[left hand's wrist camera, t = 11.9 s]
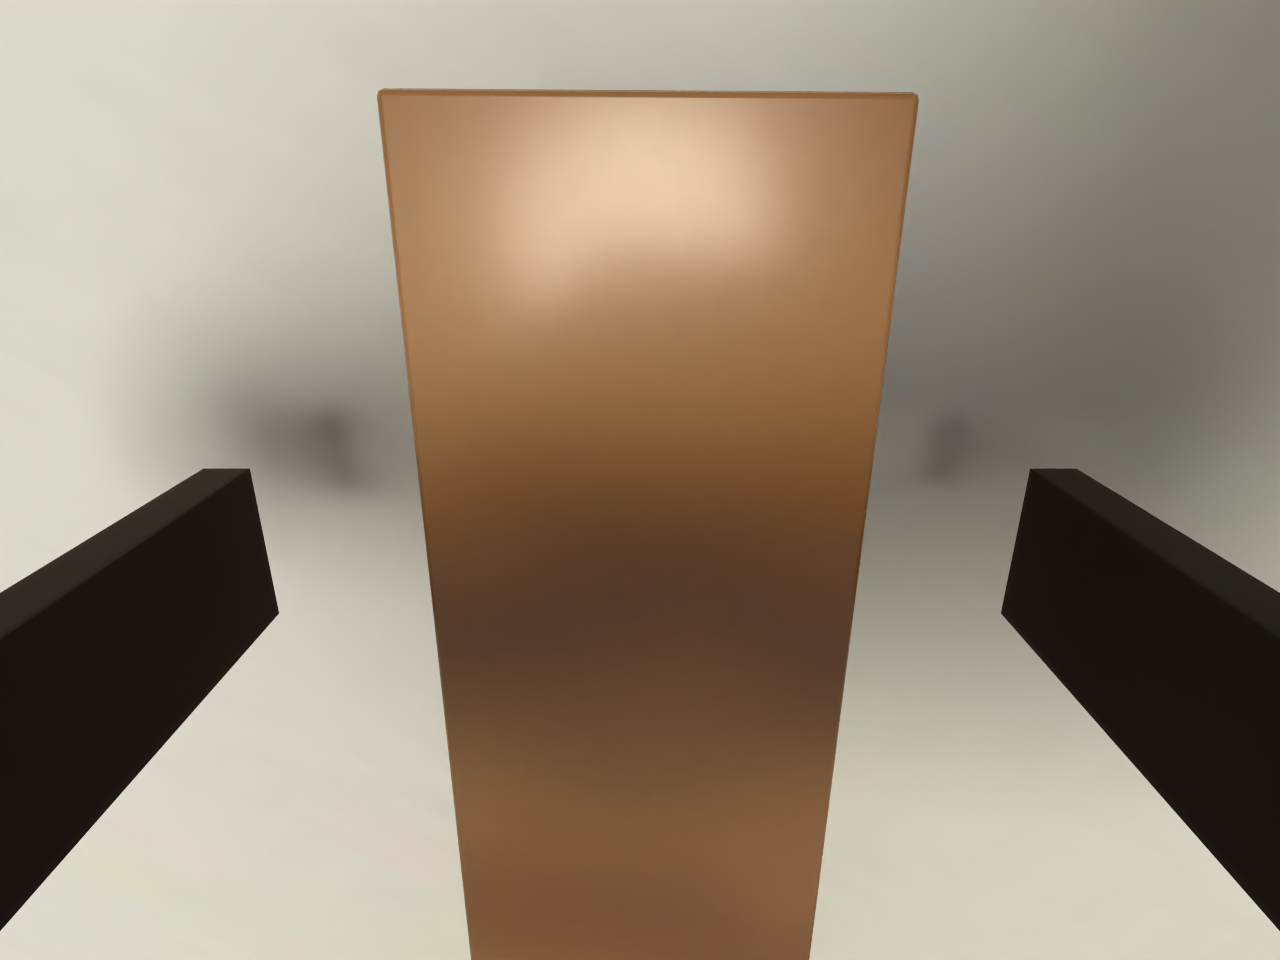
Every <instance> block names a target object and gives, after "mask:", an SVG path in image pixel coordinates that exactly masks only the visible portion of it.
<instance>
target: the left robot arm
mask: <svg viewBox="0 0 1280 960" xmlns="http://www.w3.org/2000/svg"><path fill="white" fill-rule="evenodd" d="M278 614H279V611H278V606H277V601H276V596H275V591H274V586H273V581H272V576H271V571H270V566H269V561H268V557H267V552H266V547H265V542H264V537H263V532H262V527H261V522H260V517H259V512H258V507H257V502H256V497H255V492H254V487H253V482H252V477H251V472H250V469H202V470H201V471H199V472H197V473H196V474H194V475H192V476H191V477H189V478H188V479H186V480H184V481H183V482H181V483H179V484H178V485H176V486H174V487H173V488H171V489H170V490H168V491H166V492H165V493H163V494H161V495H160V496H158V497H156V498H155V499H153V500H152V501H150V502H148V503H147V504H145V505H143V506H142V507H140V508H138V509H137V510H135V511H134V512H132V513H130V514H129V515H127V516H125V517H124V518H122V519H120V520H119V521H117V522H116V523H114V524H112V525H111V526H109V527H107V528H106V529H104V530H103V531H101V532H99V533H98V534H96V535H94V536H93V537H91V538H89V539H88V540H86V541H85V542H83V543H81V544H80V545H78V546H76V547H75V548H73V549H71V550H70V551H68V552H67V553H65V554H63V555H62V556H60V557H58V558H57V559H55V560H53V561H52V562H50V563H49V564H47V565H45V566H44V567H42V568H40V569H39V570H37V571H35V572H34V573H32V574H31V575H29V576H27V577H26V578H24V579H22V580H21V581H19V582H17V583H16V584H14V585H13V586H11V587H9V588H8V589H6V590H4V591H3V592H1V593H0V931H1V929H2V928H3V927H4V926H5V925H6V924H7V923H8V921H9V920H10V919H11V918H12V917H13V916H14V915H15V914H16V912H17V911H18V910H19V909H20V908H21V907H22V906H23V904H24V903H25V902H26V901H27V900H28V899H29V898H30V896H31V895H32V894H33V893H34V892H35V891H36V890H37V888H38V887H39V886H40V885H41V884H42V883H43V882H44V880H45V879H46V878H47V877H48V876H49V875H50V874H51V872H52V871H53V870H54V869H55V868H56V867H57V866H58V865H59V863H60V862H61V861H62V860H63V859H64V858H65V857H66V855H67V854H68V853H69V852H70V851H71V850H72V849H73V847H74V846H75V845H76V844H77V843H78V842H79V841H80V839H81V838H82V837H83V836H84V835H85V834H86V833H87V831H88V830H89V829H90V828H91V827H92V826H93V825H94V823H95V822H96V821H97V820H98V819H99V818H100V817H101V816H102V814H103V813H104V812H105V811H106V810H107V809H108V808H109V806H110V805H111V804H112V803H113V802H114V801H115V800H116V798H117V797H118V796H119V795H120V794H121V793H122V792H123V790H124V789H125V788H126V787H127V786H128V785H129V784H130V782H131V781H132V780H133V779H134V778H135V777H136V776H137V774H138V773H139V772H140V771H141V770H142V769H143V768H144V767H145V765H146V764H147V763H148V762H149V761H150V760H151V759H152V757H153V756H154V755H155V754H156V753H157V752H158V751H159V749H160V748H161V747H162V746H163V745H164V744H165V743H166V741H167V740H168V739H169V738H170V737H171V736H172V735H173V733H174V732H175V731H176V730H177V729H178V728H179V727H180V725H181V724H182V723H183V722H184V721H185V720H186V719H187V718H188V716H189V715H190V714H191V713H192V712H193V711H194V710H195V708H196V707H197V706H198V705H199V704H200V703H201V702H202V700H203V699H204V698H205V697H206V696H207V695H208V694H209V692H210V691H211V690H212V689H213V688H214V687H215V686H216V684H217V683H218V682H219V681H220V680H221V679H222V678H223V676H224V675H225V674H226V673H227V672H228V671H229V670H230V669H231V667H232V666H233V665H234V664H235V663H236V662H237V661H238V659H239V658H240V657H241V656H242V655H243V654H244V653H245V651H246V650H247V649H248V648H249V647H250V646H251V645H252V643H253V642H254V641H255V640H256V639H257V638H258V637H259V635H260V634H261V633H262V632H263V631H264V630H265V629H266V627H267V626H268V625H269V624H270V623H271V622H272V621H273V620H274V618H275V617H276V616H277V615H278ZM1001 614H1002V615H1003V616H1004V617H1005V618H1006V620H1007V621H1008V622H1009V623H1010V624H1011V625H1012V626H1013V627H1014V629H1015V630H1016V631H1017V632H1018V633H1019V634H1020V635H1021V637H1022V638H1023V639H1024V640H1025V641H1026V642H1027V643H1028V645H1029V646H1030V647H1031V648H1032V649H1033V650H1034V651H1035V653H1036V654H1037V655H1038V656H1039V657H1040V658H1041V659H1042V661H1043V662H1044V663H1045V664H1046V665H1047V666H1048V667H1049V669H1050V670H1051V671H1052V672H1053V673H1054V674H1055V675H1056V676H1057V678H1058V679H1059V680H1060V681H1061V682H1062V683H1063V684H1064V686H1065V687H1066V688H1067V689H1068V690H1069V691H1070V692H1071V694H1072V695H1073V696H1074V697H1075V698H1076V699H1077V700H1078V702H1079V703H1080V704H1081V705H1082V706H1083V707H1084V708H1085V710H1086V711H1087V712H1088V713H1089V714H1090V715H1091V716H1092V718H1093V719H1094V720H1095V721H1096V722H1097V723H1098V724H1099V725H1100V727H1101V728H1102V729H1103V730H1104V731H1105V732H1106V733H1107V735H1108V736H1109V737H1110V738H1111V739H1112V740H1113V741H1114V743H1115V744H1116V745H1117V746H1118V747H1119V748H1120V749H1121V751H1122V752H1123V753H1124V754H1125V755H1126V756H1127V757H1128V759H1129V760H1130V761H1131V762H1132V763H1133V764H1134V765H1135V766H1136V768H1137V769H1138V770H1139V771H1140V772H1141V773H1142V774H1143V776H1144V777H1145V778H1146V779H1147V780H1148V781H1149V782H1150V784H1151V785H1152V786H1153V787H1154V788H1155V789H1156V790H1157V792H1158V793H1159V794H1160V795H1161V796H1162V797H1163V798H1164V800H1165V801H1166V802H1167V803H1168V804H1169V805H1170V806H1171V808H1172V809H1173V810H1174V811H1175V812H1176V813H1177V814H1178V815H1179V817H1180V818H1181V819H1182V820H1183V821H1184V822H1185V823H1186V825H1187V826H1188V827H1189V828H1190V829H1191V830H1192V831H1193V833H1194V834H1195V835H1196V836H1197V837H1198V838H1199V839H1200V841H1201V842H1202V843H1203V844H1204V845H1205V846H1206V847H1207V849H1208V850H1209V851H1210V852H1211V853H1212V854H1213V855H1214V857H1215V858H1216V859H1217V860H1218V861H1219V862H1220V863H1221V864H1222V866H1223V867H1224V868H1225V869H1226V870H1227V871H1228V872H1229V874H1230V875H1231V876H1232V877H1233V878H1234V879H1235V880H1236V882H1237V883H1238V884H1239V885H1240V886H1241V887H1242V888H1243V890H1244V891H1245V892H1246V893H1247V894H1248V895H1249V896H1250V898H1251V899H1252V900H1253V901H1254V902H1255V903H1256V904H1257V906H1258V907H1259V908H1260V909H1261V910H1262V911H1263V912H1264V913H1265V915H1266V916H1267V917H1268V918H1269V919H1270V920H1271V921H1272V923H1273V924H1274V925H1275V926H1276V927H1277V928H1278V929H1279V931H1280V593H1279V592H1277V591H1276V590H1274V589H1272V588H1271V587H1269V586H1267V585H1266V584H1264V583H1263V582H1261V581H1259V580H1258V579H1256V578H1254V577H1253V576H1251V575H1249V574H1248V573H1246V572H1245V571H1243V570H1241V569H1240V568H1238V567H1236V566H1235V565H1233V564H1231V563H1230V562H1228V561H1227V560H1225V559H1223V558H1222V557H1220V556H1218V555H1217V554H1215V553H1214V552H1212V551H1210V550H1209V549H1207V548H1205V547H1204V546H1202V545H1200V544H1199V543H1197V542H1196V541H1194V540H1192V539H1191V538H1189V537H1187V536H1186V535H1184V534H1182V533H1181V532H1179V531H1178V530H1176V529H1174V528H1173V527H1171V526H1169V525H1168V524H1166V523H1164V522H1163V521H1161V520H1160V519H1158V518H1156V517H1155V516H1153V515H1151V514H1150V513H1148V512H1146V511H1145V510H1143V509H1142V508H1140V507H1138V506H1137V505H1135V504H1133V503H1132V502H1130V501H1128V500H1127V499H1125V498H1124V497H1122V496H1120V495H1119V494H1117V493H1115V492H1114V491H1112V490H1110V489H1109V488H1107V487H1106V486H1104V485H1102V484H1101V483H1099V482H1097V481H1096V480H1094V479H1092V478H1091V477H1089V476H1088V475H1086V474H1084V473H1083V472H1081V471H1079V470H1078V469H1030V473H1029V478H1028V482H1027V487H1026V492H1025V497H1024V502H1023V507H1022V512H1021V517H1020V522H1019V527H1018V532H1017V537H1016V542H1015V547H1014V552H1013V557H1012V562H1011V566H1010V571H1009V576H1008V581H1007V586H1006V591H1005V596H1004V601H1003V606H1002V611H1001Z"/></svg>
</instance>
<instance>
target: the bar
mask: <svg viewBox="0 0 1280 960" xmlns="http://www.w3.org/2000/svg"><path fill="white" fill-rule="evenodd" d="M377 101H378V110H379V119H380V128H381V137H382V147H383V156H384V165H385V174H386V183H387V192H388V202H389V211H390V220H391V229H392V238H393V247H394V257H395V266H396V275H397V284H398V293H399V302H400V312H401V321H402V330H403V339H404V348H405V357H406V367H407V376H408V385H409V394H410V403H411V412H412V422H413V431H414V440H415V449H416V458H417V467H418V477H419V486H420V495H421V504H422V513H423V522H424V532H425V541H426V550H427V559H428V568H429V577H430V587H431V596H432V605H433V614H434V623H435V632H436V642H437V651H438V660H439V669H440V678H441V687H442V697H443V706H444V715H445V724H446V733H447V742H448V752H449V761H450V770H451V779H452V788H453V797H454V807H455V816H456V825H457V834H458V843H459V852H460V862H461V871H462V880H463V889H464V898H465V907H466V917H467V926H468V935H469V944H470V953H471V960H809V957H810V949H811V942H812V934H813V926H814V918H815V910H816V902H817V894H818V887H819V879H820V871H821V863H822V855H823V847H824V840H825V832H826V824H827V816H828V808H829V800H830V793H831V785H832V777H833V769H834V761H835V753H836V745H837V738H838V730H839V722H840V714H841V706H842V698H843V691H844V683H845V675H846V667H847V659H848V651H849V643H850V636H851V628H852V620H853V612H854V604H855V596H856V589H857V581H858V573H859V565H860V557H861V549H862V541H863V534H864V526H865V518H866V510H867V502H868V494H869V487H870V479H871V471H872V463H873V455H874V447H875V439H876V432H877V424H878V416H879V408H880V400H881V392H882V385H883V377H884V369H885V361H886V353H887V345H888V337H889V330H890V322H891V314H892V306H893V298H894V290H895V283H896V275H897V267H898V259H899V251H900V243H901V236H902V228H903V220H904V212H905V204H906V196H907V188H908V181H909V173H910V165H911V157H912V149H913V141H914V134H915V126H916V118H917V110H918V102H919V100H918V95H917V94H915V93H913V92H798V91H661V90H524V89H387V88H384V89H382V90H380V91H378V95H377Z"/></svg>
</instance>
